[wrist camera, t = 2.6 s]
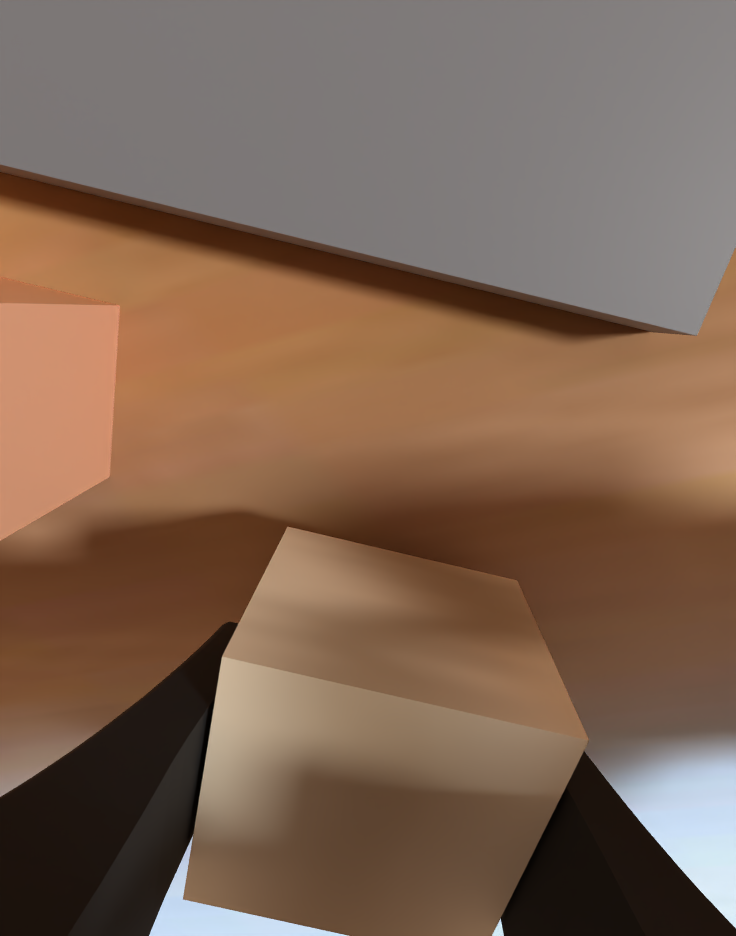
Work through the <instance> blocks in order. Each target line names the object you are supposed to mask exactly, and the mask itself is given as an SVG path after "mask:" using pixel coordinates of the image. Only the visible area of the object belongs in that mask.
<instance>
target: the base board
mask: <svg viewBox="0 0 736 936" xmlns="http://www.w3.org/2000/svg"><path fill="white" fill-rule="evenodd" d="M0 172H3V173H7V174H11V175H15V176H19V177H23V178H27V179H31V180H35V181H39V182H43V183H47V184H51V185H55V186H60V187H64V188H68V189H72V190H76V191H80V192H84V193H88V194H92V195H96V196H100V197H104V198H108V199H112V200H117V201H121V202H125V203H129V204H133V205H137V206H141V207H145V208H149V209H153V210H157V211H161V212H165V213H170V214H174V215H178V216H182V217H186V218H190V219H194V220H198V221H202V222H206V223H210V224H214V225H218V226H222V227H227V228H231V229H235V230H239V231H243V232H247V233H251V234H255V235H259V236H263V237H267V238H271V239H275V240H280V241H284V242H288V243H292V244H296V245H300V246H304V247H308V248H312V249H316V250H320V251H324V252H328V253H332V254H337V255H341V256H345V257H349V258H353V259H357V260H361V261H365V262H369V263H373V264H377V265H381V266H385V267H389V268H394V269H398V270H402V271H406V272H410V273H414V274H418V275H422V276H426V277H430V278H434V279H438V280H442V281H447V282H451V283H455V284H459V285H463V286H467V287H471V288H475V289H479V290H483V291H487V292H491V293H495V294H499V295H504V296H508V297H512V298H516V299H520V300H524V301H528V302H532V303H536V304H540V305H544V306H548V307H552V308H556V309H561V310H565V311H569V312H573V313H577V314H581V315H585V316H589V317H593V318H597V319H601V320H605V321H609V322H614V323H618V324H622V325H626V326H630V327H634V328H638V329H642V330H646V331H650V332H657V333H670V334H682V335H694V336H697V334H698V332H699V329H700V327H701V325H702V323H703V320H704V318H705V316H706V313H707V311H708V309H709V307H710V304H711V302H712V300H713V297H714V295H715V293H716V291H717V288H718V286H719V284H720V281H721V279H722V277H723V274H724V272H725V270H726V268H727V265H728V263H729V261H730V258H731V256H732V254H733V252H734V249H735V247H736V0H0Z"/></svg>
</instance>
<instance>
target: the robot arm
mask: <svg viewBox="0 0 736 936" xmlns="http://www.w3.org/2000/svg"><path fill="white" fill-rule="evenodd" d="M237 626H238V624H237V623H233V622H227V623H226V624H224V625H222V626H221V627H220V628H219V629H218V630H217V631H216V632H215V633H214V634H213V635H212V636H211V637H210V638H209V639H208V640H207V641H206V642H205V643H204V644H203V645H202V646H201V647H200V648H199V649H198V650H197V651H196V652H195V653H194V654H192V655H191V656H190V657H189V658H188V659H187V660H186V661H185V662H184V663H183V664H181V665H180V666H179V667H178V668H177V669H176V670H175V671H173V672H172V673H171V674H170V675H169V676H168V677H166V678H165V679H164V680H163V681H162V682H160V683H159V684H158V685H157V686H156V687H155V688H153V689H152V690H151V691H150V692H149V693H148V694H146V695H145V696H144V697H143V698H141V699H140V700H139V701H138V702H136V703H135V704H134V705H132V706H131V707H130V708H128V709H127V710H126V711H125V712H123V713H122V714H121V715H119V716H118V717H117V718H115V719H114V720H113V721H112V722H110V723H109V724H108V725H106V726H105V727H104V728H103V729H101V730H100V731H99V732H97V733H96V734H94V735H93V736H92V737H90V738H89V739H87V740H86V741H85V742H83V743H82V744H80V745H79V746H78V747H76V748H75V749H73V750H72V751H71V752H69V753H68V754H66V755H65V756H63V757H62V758H60V759H59V760H57V761H56V762H54V763H53V764H51V765H50V766H48V767H47V768H45V769H44V770H42V771H41V772H39V773H38V774H36V775H35V776H33V777H32V778H30V779H29V780H27V781H26V782H24V783H22V784H21V785H19V786H18V787H16V788H14V789H13V790H11V791H9V792H8V793H6V794H5V795H3V796H1V797H0V936H149V934H150V931H151V929H152V927H153V924H154V922H155V919H156V917H157V915H158V912H159V910H160V907H161V905H162V903H163V900H164V898H165V895H166V893H167V891H168V889H169V887H170V884H171V882H172V880H173V878H174V876H175V873H176V871H177V869H178V867H179V865H180V862H181V860H182V858H183V856H184V854H185V851H186V849H187V847H188V845H189V843H190V840H191V838H192V836H193V834H194V828H195V822H196V815H197V809H198V803H199V797H200V790H201V784H202V778H203V772H204V766H205V759H206V753H207V747H208V741H209V735H210V728H211V722H212V716H213V710H214V703H215V697H216V691H217V685H218V679H219V672H220V666H221V660H222V656H223V654H224V652H225V650H226V648H227V646H228V644H229V642H230V640H231V638H232V636H233V634H234V632H235V630H236V628H237ZM501 922H502V928H503V933H504V936H736V928H735V927H734V926H733V925H732V924H731V923H730V922H729V921H728V920H727V919H726V918H725V917H724V916H723V915H722V914H721V913H720V911H719V910H718V909H717V908H716V907H715V906H714V905H713V904H712V903H711V902H710V901H709V900H708V899H707V898H706V897H705V896H704V895H703V893H702V892H701V891H700V890H699V889H698V888H697V887H696V886H695V885H694V883H693V882H692V881H691V880H690V879H689V878H688V877H687V876H686V875H685V873H684V872H683V871H682V870H681V869H680V868H679V867H678V865H677V864H676V863H675V862H674V861H673V860H672V858H671V857H670V856H669V855H668V854H667V853H666V851H665V850H664V849H663V848H662V847H661V846H660V844H659V843H658V842H657V841H656V840H655V839H654V837H653V836H652V835H651V834H650V833H649V832H648V830H647V829H646V828H645V827H644V826H643V825H642V823H641V822H640V821H639V820H638V818H637V817H636V816H635V815H634V814H633V812H632V811H631V810H630V809H629V807H628V806H627V805H626V804H625V803H624V801H623V800H622V799H621V798H620V796H619V795H618V794H617V793H616V791H615V790H614V789H613V788H612V786H611V785H610V784H609V782H608V781H607V780H606V779H605V777H604V776H603V775H602V774H601V772H600V771H599V770H598V768H597V767H596V766H595V765H594V763H593V762H592V761H591V759H590V758H589V757H588V756H587V754H586V753H585V752H583V754H582V756H581V758H580V760H579V762H578V764H577V766H576V768H575V770H574V772H573V774H572V776H571V778H570V780H569V782H568V784H567V786H566V788H565V790H564V792H563V794H562V796H561V798H560V800H559V802H558V804H557V806H556V808H555V810H554V812H553V814H552V816H551V818H550V820H549V822H548V824H547V826H546V828H545V830H544V832H543V834H542V836H541V838H540V840H539V842H538V844H537V846H536V848H535V850H534V852H533V854H532V856H531V858H530V860H529V862H528V864H527V866H526V868H525V870H524V872H523V874H522V876H521V878H520V880H519V882H518V884H517V886H516V888H515V890H514V892H513V894H512V896H511V898H510V900H509V902H508V904H507V906H506V908H505V910H504V912H503V914H502V916H501Z"/></svg>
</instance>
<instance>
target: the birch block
mask: <svg viewBox="0 0 736 936" xmlns="http://www.w3.org/2000/svg"><path fill="white" fill-rule="evenodd" d="M588 742H589V739H588V737H587V735H586V732H585V730H584V728H583V726H582V723H581V721H580V719H579V717H578V715H577V712H576V710H575V708H574V706H573V703H572V701H571V699H570V697H569V694H568V692H567V690H566V688H565V686H564V683H563V681H562V679H561V677H560V674H559V672H558V670H557V668H556V666H555V663H554V661H553V659H552V657H551V654H550V652H549V650H548V648H547V645H546V643H545V641H544V639H543V637H542V634H541V632H540V630H539V628H538V625H537V623H536V621H535V619H534V617H533V614H532V612H531V610H530V608H529V605H528V603H527V601H526V599H525V596H524V594H523V592H522V590H521V588H520V585H519V583H518V581H517V580H514V579H510V578H505V577H501V576H497V575H493V574H488V573H484V572H480V571H475V570H471V569H467V568H463V567H458V566H454V565H450V564H446V563H441V562H437V561H433V560H428V559H424V558H420V557H416V556H411V555H407V554H403V553H399V552H394V551H390V550H386V549H381V548H377V547H373V546H369V545H364V544H360V543H356V542H352V541H347V540H343V539H339V538H334V537H330V536H326V535H322V534H317V533H313V532H309V531H305V530H300V529H296V528H292V527H287V529H286V531H285V533H284V535H283V537H282V539H281V541H280V543H279V545H278V547H277V549H276V551H275V553H274V555H273V557H272V558H271V560H270V562H269V564H268V566H267V568H266V570H265V572H264V574H263V576H262V578H261V580H260V582H259V584H258V586H257V588H256V590H255V592H254V594H253V596H252V598H251V600H250V602H249V604H248V606H247V608H246V610H245V612H244V614H243V616H242V618H241V620H240V622H239V624H238V626H237V628H236V630H235V632H234V634H233V636H232V638H231V640H230V642H229V644H228V646H227V648H226V650H225V652H224V654H223V656H222V660H221V666H220V672H219V679H218V685H217V691H216V697H215V703H214V710H213V716H212V722H211V728H210V735H209V741H208V747H207V753H206V759H205V766H204V772H203V778H202V784H201V790H200V797H199V803H198V809H197V815H196V822H195V828H194V834H193V840H192V846H191V853H190V859H189V865H188V871H187V878H186V884H185V890H184V896H183V899H184V900H189V901H193V902H198V903H202V904H207V905H211V906H216V907H221V908H225V909H230V910H234V911H239V912H243V913H248V914H253V915H257V916H262V917H266V918H271V919H275V920H280V921H285V922H289V923H294V924H298V925H303V926H307V927H312V928H317V929H321V930H326V931H330V932H335V933H339V934H344V935H349V936H492V934H493V932H494V930H495V928H496V926H497V924H498V922H499V920H500V918H501V916H502V914H503V912H504V910H505V908H506V906H507V904H508V902H509V900H510V898H511V896H512V894H513V892H514V890H515V888H516V886H517V884H518V882H519V880H520V878H521V876H522V874H523V872H524V870H525V868H526V866H527V864H528V862H529V860H530V858H531V856H532V854H533V852H534V850H535V848H536V846H537V844H538V842H539V840H540V838H541V836H542V834H543V832H544V830H545V828H546V826H547V824H548V822H549V820H550V818H551V816H552V814H553V812H554V810H555V808H556V806H557V804H558V802H559V800H560V798H561V796H562V794H563V792H564V790H565V788H566V786H567V784H568V782H569V780H570V778H571V776H572V774H573V772H574V770H575V768H576V766H577V764H578V762H579V760H580V758H581V756H582V754H583V752H584V750H585V748H586V746H587V744H588Z"/></svg>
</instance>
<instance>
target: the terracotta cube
mask: <svg viewBox="0 0 736 936" xmlns="http://www.w3.org/2000/svg"><path fill="white" fill-rule="evenodd" d="M119 311H120V305H116V304H112V303H107V302H103V301H99V300H95V299H91V298H87V297H82V296H78V295H74V294H70V293H66V292H62V291H57V290H53V289H49V288H45V287H41V286H37V285H32V284H28V283H24V282H20V281H16V280H12V279H7V278H3V277H0V540H2V539H4V538H6V537H7V536H9V535H11V534H12V533H14V532H16V531H18V530H19V529H21V528H23V527H24V526H26V525H28V524H30V523H31V522H33V521H35V520H36V519H38V518H40V517H42V516H43V515H45V514H47V513H49V512H50V511H52V510H54V509H55V508H57V507H59V506H61V505H62V504H64V503H66V502H67V501H69V500H71V499H73V498H74V497H76V496H78V495H79V494H81V493H83V492H85V491H86V490H88V489H90V488H91V487H93V486H95V485H97V484H98V483H100V482H102V481H103V480H105V479H107V478H109V477H110V461H111V445H112V428H113V411H114V395H115V378H116V361H117V344H118V328H119Z"/></svg>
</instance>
